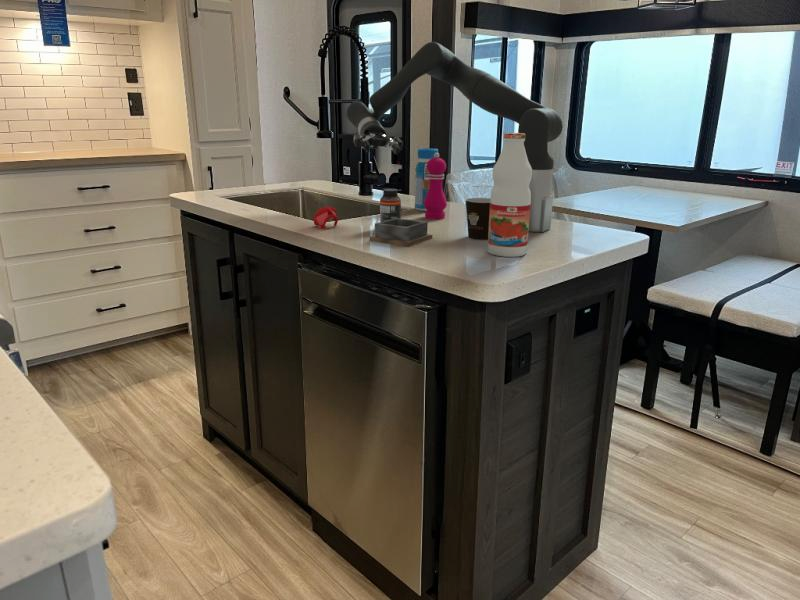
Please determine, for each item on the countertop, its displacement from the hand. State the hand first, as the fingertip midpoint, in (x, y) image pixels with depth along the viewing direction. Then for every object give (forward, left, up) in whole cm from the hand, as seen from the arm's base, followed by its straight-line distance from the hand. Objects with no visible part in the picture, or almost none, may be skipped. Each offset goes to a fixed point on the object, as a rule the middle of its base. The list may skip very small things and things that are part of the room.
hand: (383, 150), depth 178 cm
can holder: (-18, +17, -21) cm, 33 cm away
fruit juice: (-47, +15, -21) cm, 54 cm away
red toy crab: (+9, +15, -22) cm, 28 cm away
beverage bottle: (+1, -29, -21) cm, 36 cm away
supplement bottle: (-8, +7, -21) cm, 24 cm away
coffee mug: (-35, +3, -21) cm, 41 cm away
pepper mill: (-9, -17, -21) cm, 28 cm away
